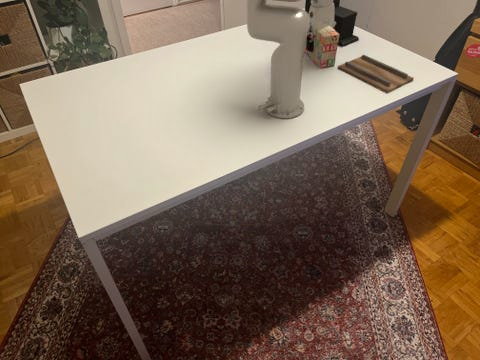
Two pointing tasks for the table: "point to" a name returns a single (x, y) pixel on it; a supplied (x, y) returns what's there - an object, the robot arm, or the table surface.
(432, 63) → the table surface
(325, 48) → the stack of blocks
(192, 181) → the table surface
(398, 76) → the slot board
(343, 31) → the bookend
